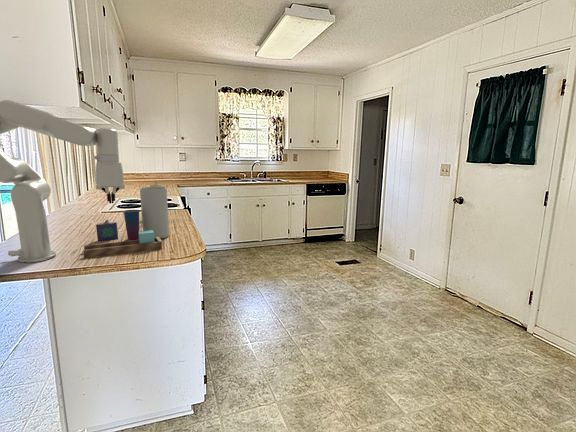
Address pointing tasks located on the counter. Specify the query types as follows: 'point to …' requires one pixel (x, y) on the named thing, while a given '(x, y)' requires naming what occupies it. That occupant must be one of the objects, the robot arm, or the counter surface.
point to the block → (146, 236)
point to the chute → (120, 248)
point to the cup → (132, 224)
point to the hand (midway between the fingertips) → (111, 202)
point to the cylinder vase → (155, 210)
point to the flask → (107, 231)
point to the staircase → (156, 185)
